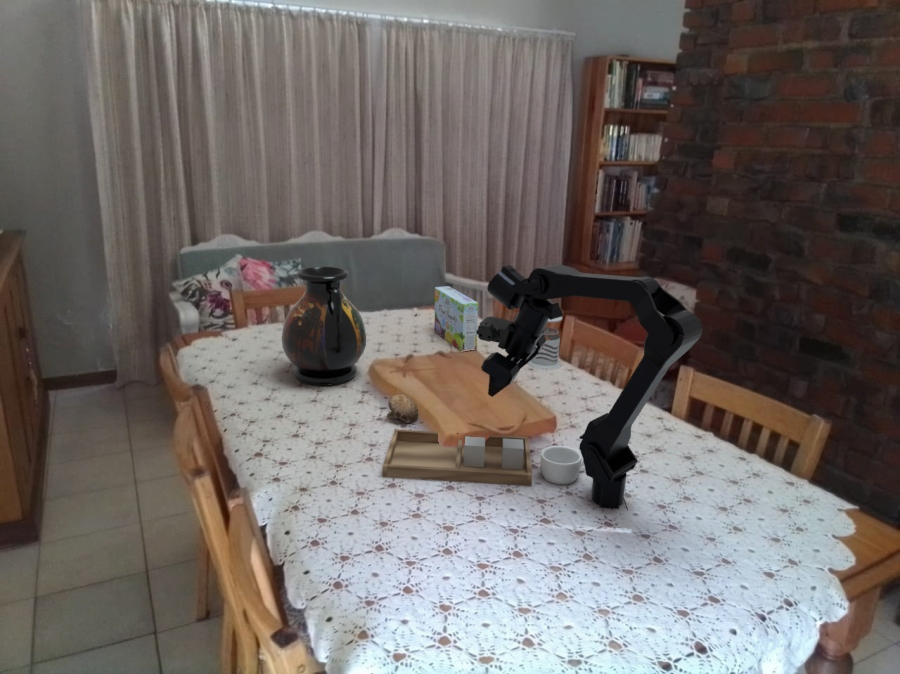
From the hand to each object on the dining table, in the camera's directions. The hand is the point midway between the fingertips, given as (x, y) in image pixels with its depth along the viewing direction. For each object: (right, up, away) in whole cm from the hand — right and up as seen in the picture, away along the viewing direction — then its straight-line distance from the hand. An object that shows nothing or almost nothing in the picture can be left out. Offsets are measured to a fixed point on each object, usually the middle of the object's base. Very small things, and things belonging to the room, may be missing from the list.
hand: (499, 385), depth 137 cm
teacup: (+12, -18, -5) cm, 22 cm away
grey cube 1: (-5, -15, -2) cm, 16 cm away
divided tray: (-8, -16, -1) cm, 18 cm away
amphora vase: (-43, -1, +43) cm, 60 cm away
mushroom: (-21, -10, +18) cm, 29 cm away
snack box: (-9, +8, +74) cm, 75 cm away
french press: (+16, +2, +57) cm, 60 cm away
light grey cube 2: (+2, -15, -2) cm, 16 cm away
